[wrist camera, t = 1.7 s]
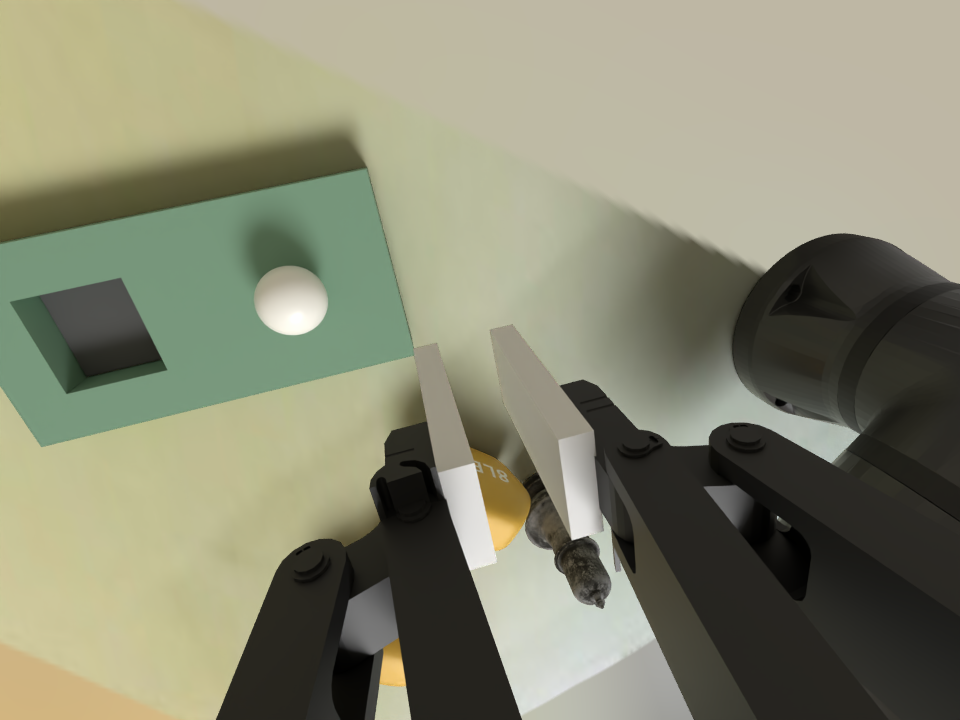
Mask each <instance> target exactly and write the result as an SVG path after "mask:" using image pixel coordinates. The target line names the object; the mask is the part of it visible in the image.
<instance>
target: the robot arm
mask: <svg viewBox="0 0 960 720" xmlns="http://www.w3.org/2000/svg"><path fill="white" fill-rule="evenodd" d="M490 335H491V340H492V346H493V351H494V357H495V362H496V367H497V373H498V378H499V383H500V389H501V394H502V399H503V404H504V406H505V408H506V410H507V412H508V414H509V416H510V418H511V420H512V422H513V424H514V426H515V428H516V430H517V432H518V434H519V436H520V438H521V440H522V442H523V444H524V446H525V448H526V450H527V452H528V454H529V456H530V458H531V460H532V462H533V464H534V466H535V468H536V470H537V472H538V474H539V476H540V478H541V480H542V482H543V484H544V486H545V488H546V490H547V492H548V494H549V496H550V498H551V500H552V502H553V504H554V506H555V508H556V510H557V512H558V514H559V516H560V518H561V520H562V522H563V524H564V526H565V528H566V530H567V532H568V534H569V536H570V538H571V540H575V539H579V538H582V537H585V536H589V535H592V534H596V533H599V532H602V531H604V528H603V518H602V513H603V515H604V517H605V518H606V520H607V521H608V523H609V525H610V526H611V532H612V543H613V554H614V564H615V570H616V572H619V571H621V566H620V561H621V564H622V566H623V568H624V570H625V572H626V574H627V577H628V579H629V581H630V583H631V585H632V587H633V590H634V592H635V594H636V596H637V598H638V600H639V602H640V605H641V607H642V609H643V611H644V613H645V615H646V618H647V620H648V622H649V624H650V626H651V628H652V630H653V633H654V635H655V637H656V639H657V641H658V643H659V645H660V648H661V650H662V652H663V654H664V656H665V658H666V660H667V663H668V665H669V667H670V669H671V671H672V674H673V676H674V678H675V680H676V682H677V684H678V687H679V689H680V691H681V693H682V695H683V697H684V699H685V701H686V704H687V706H688V708H689V710H690V712H691V715H692V717H693V719H694V720H960V284H957V283H953V282H950V281H949V280H947V279H946V278H944V277H942V276H941V275H939V274H938V273H936V272H935V271H933V270H932V269H930V268H929V267H927V266H926V265H924V264H922V263H921V262H919V261H918V260H916V259H915V258H913V257H911V256H910V255H908V254H906V253H905V252H904V251H902V250H901V249H899V248H898V247H896V246H894V245H893V244H890V243H888V242H885V241H882V240H879V239H875V238H870V237H865V236H859V235H854V234H831V235H827V236H823V237H820V238H816V239H814V240H811V241H809V242H806V243H804V244H802V245H800V246H799V247H797V248H795V249H794V250H792V251H791V252H789V253H788V254H786V255H785V256H784V257H783V258H781V259H780V260H779V261H778V262H777V263H775V264H774V265H773V266H772V267H771V268H770V269H769V270H768V271H767V272H766V273H765V275H764V276H763V277H762V278H761V279H760V281H759V282H758V283H757V285H756V286H755V287H754V289H753V290H752V292H751V293H750V295H749V297H748V299H747V300H746V302H745V304H744V306H743V309H742V311H741V313H740V316H739V319H738V322H737V325H736V329H735V334H734V342H733V356H734V363H735V367H736V370H737V373H738V376H739V378H740V379H741V381H742V383H743V384H744V386H745V387H746V388H747V389H748V390H749V391H750V392H751V393H752V394H754V395H755V396H757V397H758V398H760V399H761V400H763V401H764V402H766V403H767V404H769V405H770V406H772V407H774V408H776V409H778V410H780V411H783V412H786V413H789V414H793V415H798V416H802V417H806V418H810V419H814V420H819V421H823V422H827V423H831V424H836V425H840V426H844V427H848V428H850V429H852V430H854V431H856V432H857V433H859V434H860V435H859V436H858V437H857V438H856V439H855V440H854V441H853V442H852V443H851V444H850V445H849V447H848V448H847V449H846V450H844V451H843V452H842V453H841V454H840V455H839V456H838V457H837V458H836V459H835V460H834V461H833V462H832V463H829V462H827V461H826V460H824V459H822V458H820V457H818V456H817V455H815V454H813V453H811V452H810V451H808V450H806V449H804V448H802V447H801V446H799V445H797V444H795V443H793V442H792V441H790V440H788V439H786V438H784V437H783V436H781V435H779V434H777V433H776V432H774V431H772V430H770V429H767V428H765V427H762V426H760V425H755V424H750V423H729V424H725V425H721V426H719V427H717V428H716V429H714V430H713V431H712V432H711V434H710V436H709V445H703V446H685V447H684V446H670V444H669V443H668V442H667V441H666V440H665V439H664V438H663V437H661V436H660V435H658V434H656V433H653V432H650V431H645V430H638V429H637V428H636V427H635V426H634V425H633V424H632V423H631V421H630V420H629V419H628V418H627V417H626V416H625V415H624V414H623V413H622V412H621V411H620V410H619V408H618V407H617V406H616V405H615V406H614V403H613V402H612V401H611V400H610V399H609V398H607V396H606V394H605V393H604V392H603V391H602V390H601V389H600V388H599V387H598V386H597V385H594V384H592V383H590V382H587V381H585V380H579V381H575V382H572V383H568V384H564V385H560V386H559V384H558V383H557V382H556V381H555V379H554V378H553V377H552V375H551V374H550V373H549V371H548V370H547V369H546V368H545V366H544V365H543V364H542V362H541V361H540V360H539V358H538V357H537V356H536V355H535V353H534V352H533V351H532V349H531V348H530V347H529V345H528V344H527V343H526V341H525V340H524V339H523V338H522V336H521V335H520V334H519V332H518V331H517V330H516V328H515V327H514V326H513V325H508V326H504V327H499V328H495V329H491V330H490ZM413 351H414V356H415V361H416V366H417V371H418V377H419V382H420V387H421V392H422V397H423V403H424V408H425V413H426V418H427V422H423V423H419V424H416V425H412V426H408V427H404V428H400V429H396V430H393V431H391V433H390V435H389V436H388V438H387V440H386V442H385V443H384V445H385V466H383V467H382V468H381V469H379V470H378V471H377V472H376V473H375V475H374V476H373V478H372V479H371V482H370V488H369V489H370V492H371V495H372V497H373V500H374V503H375V506H376V509H377V512H378V515H379V518H380V520H381V522H380V523H379V524H378V526H377V527H376V528H375V529H374V530H372V531H371V532H370V533H369V534H367V535H366V536H364V537H363V538H361V539H360V540H358V541H356V542H354V543H352V544H350V545H348V546H347V547H345V548H344V546H343V545H342V543H341V542H338V541H336V540H333V539H318V540H315V541H312V542H308V543H306V544H304V545H302V546H301V547H299V548H297V549H295V550H294V551H292V552H291V553H290V554H289V555H288V556H287V557H286V558H285V559H284V560H283V561H282V563H281V564H280V566H279V567H278V569H277V571H276V572H275V575H274V577H273V580H272V582H271V585H270V587H269V590H268V592H267V595H266V597H265V600H264V602H263V605H262V607H261V609H260V612H259V614H258V617H257V619H256V622H255V624H254V627H253V629H252V632H251V634H250V637H249V639H248V642H247V644H246V647H245V649H244V652H243V654H242V657H241V659H240V661H239V664H238V666H237V669H236V671H235V674H234V676H233V679H232V681H231V684H230V686H229V689H228V691H227V694H226V696H225V699H224V701H223V704H222V706H221V709H220V711H219V713H218V716H217V718H216V720H375V712H376V705H377V698H378V690H379V683H380V676H381V668H382V661H383V654H384V652H383V648H384V647H385V646H387V645H388V644H390V643H391V642H393V641H395V640H396V639H398V638H399V643H400V649H401V656H402V662H403V669H404V675H405V682H406V688H407V694H408V701H409V707H410V714H411V720H522V718H521V715H520V713H519V710H518V707H517V704H516V701H515V698H514V695H513V693H512V690H511V687H510V684H509V681H508V678H507V675H506V673H505V670H504V667H503V664H502V661H501V658H500V655H499V653H498V650H497V647H496V644H495V641H494V638H493V635H492V632H491V630H490V627H489V624H488V621H487V618H486V615H485V612H484V610H483V607H482V604H481V601H480V598H479V595H478V592H477V590H476V587H475V584H474V581H473V578H472V575H471V572H470V570H473V569H476V568H480V567H483V566H487V565H490V564H493V563H497V559H496V554H495V550H494V546H493V541H492V537H491V532H490V528H489V524H488V519H487V515H486V511H485V506H484V502H483V497H482V493H481V489H480V484H479V480H478V476H477V471H476V467H475V463H474V459H473V456H472V453H471V450H470V447H469V444H468V440H467V437H466V434H465V431H464V428H463V425H462V421H461V418H460V415H459V412H458V409H457V406H456V402H455V399H454V396H453V393H452V390H451V387H450V383H449V380H448V377H447V374H446V371H445V368H444V365H443V361H442V358H441V355H440V352H439V349H438V346H437V343H434V344H430V345H426V346H422V347H418V348H414V349H413ZM777 516H779V518H778V519H777Z"/></svg>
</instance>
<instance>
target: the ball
mask: <svg viewBox="0 0 960 720" xmlns="http://www.w3.org/2000/svg"><path fill="white" fill-rule="evenodd" d="M254 305H255V309H256V312H257V314H258V316H259V317H260V319H261V320H262V321H263V323H264V324H265V325H266V326H268V327H269V328H270V329H272V330H274V331H276V332H278V333H281V334H285V335H300V334H304V333H307V332H309V331H311V330H313V329H314V328H315V327H317V326H318V325H319V324H320V323H321V321H322V320H323V318H324V316H325V314H326V312H327V308H328V296H327V292H326V289H325V287H324V285H323V283H322V282H321V281H320V279H319V278H318V277H317V276H316V275H315V274H313V273H312V272H310V271H309V270H307V269H305V268H302V267H298V266H281V267H277V268H275V269H272V270H271V271H269V272H268V273H266V274H265V275H264V276H263V277H262V278H261V279H260V281H259V282H258V284H257V287H256V289H255V293H254Z"/></svg>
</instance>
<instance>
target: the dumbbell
mask: <svg viewBox="0 0 960 720" xmlns="http://www.w3.org/2000/svg"><path fill="white" fill-rule="evenodd" d="M470 450H471V453H472V456H473V459H474V463H475V467H476V471H477V476H478V480H479V484H480V489H481V493H482V497H483V502H484V506H485V511H486V515H487V519H488V524H489V528H490V532H491V537H492V541H493V546H494V550H495V551H498V550H501V549H503V548H505V547H507V546H508V545H509V544H510V543H511V541H512V540H513V539H514V537H515V536H516V535H517V533H518V532H519V530H520V529H521V527H522V526H523V524H524V522H525V520H526V518H527V516H528V513H529V510H530V505H531V499H530V496H529V493H528V492H527V490H526V489H525V488H524V486H523V485H522V484H521V483H520V481H519V480H518V479H517V478H516V477H515V476H514V475H513V474H512V473H511V472H510V470H509V469H508V468H507V467H506V466H505V465H504V464H502V463H501V462H500V461H499V460H497V459H496V458H494V457H492V456H490V455H488V454H485V453H483V452H481V451H478V450H476V449H473V448H471V447H470ZM383 652H384V654H383V661H382V668H381V676H380V683H379V684H383V685H389V686H406V682H405V675H404V669H403V662H402V656H401V649H400V643H399V638H398V639H396V640H395V641H393V642H391V643H390V644H388V645H387V646H385V647H384V648H383Z"/></svg>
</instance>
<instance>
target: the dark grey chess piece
mask: <svg viewBox="0 0 960 720" xmlns="http://www.w3.org/2000/svg"><path fill="white" fill-rule="evenodd" d="M523 486H524V488H525V489H526V490H527V492H528V493H529V496H530V499H531V505H530V510H529V513H528V516H527V518H526V523H525V531H526V534H527V536H528V539H529V540H530V541H531V542H532V543H533V544H534V545H536V546H538V547H539V548H543V549H547V550H553V551H554V554H555V558H554V563H555V566H556V568H557V569H558V570H559V571H560V572H561V573H563V574H565V576H566V578H567V580H568V583H569V585H570V587H571V589H572V592H573V594H574V596H575V597H576V598H577V600H578V601H580V602H581V603H584V604H587V605H594V604H595V605H596V606H597V607H599V608H601V609H603V608H604V604H605V600H604V599H605V598H607V596H608V595H609V593H610V590H611V580H610V577H609V575H608V573H607V571H606V569H605V568H604V566H603V564H602V562H601V560H600V558H599V554H600V549H599V546H598V544H597V543H596V542H595V541H594V540H593V539H591V538H589V536H585V537H582V538H579V539H575V540H571V538H570V536H569V534H568V532H567V530H566V528H565V526H564V524H563V522H562V520H561V518H560V516H559V514H558V512H557V510H556V508H555V506H554V504H553V502H552V500H551V498H550V496H549V494H548V492H547V490H546V488H545V486H544V484H543V482H542V480H541V478H540V476H539V474H538V473H536V474H534V475H532V476H531V477H529V478H528V479H527V480H526V481H525V482H524V483H523Z"/></svg>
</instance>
